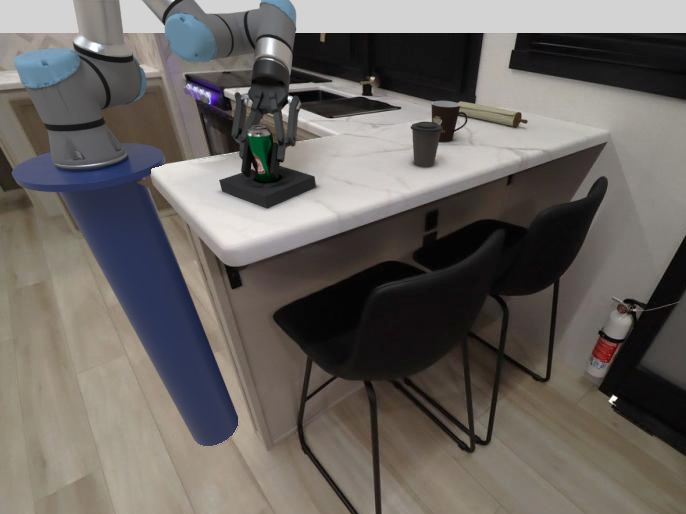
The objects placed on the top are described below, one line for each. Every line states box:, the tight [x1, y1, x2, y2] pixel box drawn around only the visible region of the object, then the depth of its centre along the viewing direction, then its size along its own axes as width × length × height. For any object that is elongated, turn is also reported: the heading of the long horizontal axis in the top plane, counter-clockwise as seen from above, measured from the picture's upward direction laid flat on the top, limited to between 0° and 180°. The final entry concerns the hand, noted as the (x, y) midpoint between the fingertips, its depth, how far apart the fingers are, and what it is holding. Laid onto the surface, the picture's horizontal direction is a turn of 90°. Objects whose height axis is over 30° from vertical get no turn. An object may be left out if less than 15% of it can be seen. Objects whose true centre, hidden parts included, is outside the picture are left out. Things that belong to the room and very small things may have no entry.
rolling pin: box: [456, 100, 529, 128], centre depth 138 cm, size 32×6×5 cm, turn 49°
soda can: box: [246, 124, 280, 184], centre depth 78 cm, size 5×5×12 cm
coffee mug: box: [430, 100, 468, 143], centre depth 114 cm, size 12×9×10 cm
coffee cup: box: [410, 121, 443, 168], centre depth 96 cm, size 8×8×10 cm
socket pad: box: [218, 165, 317, 209], centre depth 82 cm, size 14×14×2 cm
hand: (259, 175), depth 77 cm, fingers open, 5 cm apart
